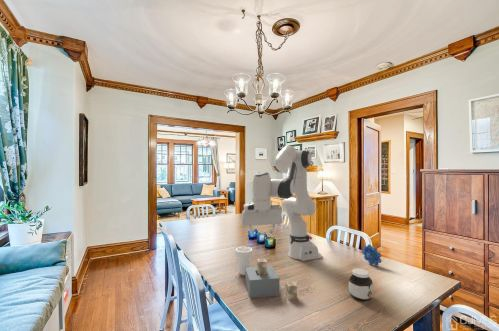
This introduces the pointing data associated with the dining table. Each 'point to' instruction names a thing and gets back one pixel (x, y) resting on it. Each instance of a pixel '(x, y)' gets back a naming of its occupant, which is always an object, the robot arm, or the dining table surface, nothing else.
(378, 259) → the grapes
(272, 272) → the hole block
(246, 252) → the foam cup
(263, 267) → the long pin
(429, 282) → the dining table surface
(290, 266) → the dining table surface
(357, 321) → the dining table surface
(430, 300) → the dining table surface
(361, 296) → the spread jar
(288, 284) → the short pin
